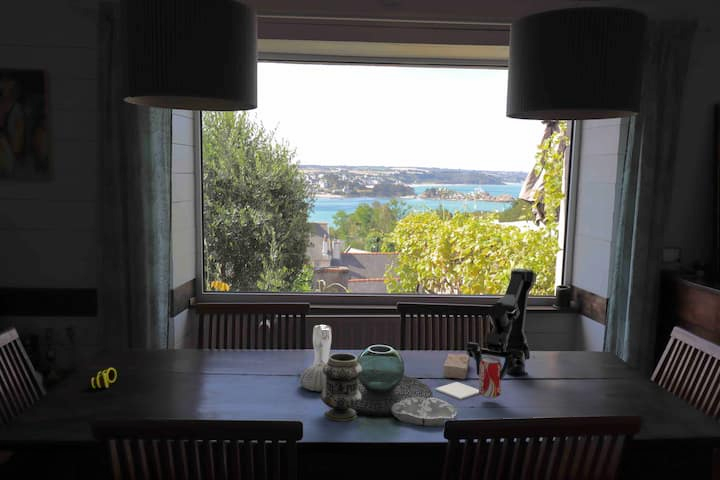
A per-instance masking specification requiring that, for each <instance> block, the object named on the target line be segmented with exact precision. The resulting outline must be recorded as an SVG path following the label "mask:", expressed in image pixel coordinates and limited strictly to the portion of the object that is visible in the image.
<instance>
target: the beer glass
mask: <svg viewBox="0 0 720 480" xmlns="http://www.w3.org/2000/svg"><path fill="white" fill-rule="evenodd" d="M312 331H313V332H312V345H313V350H314V351H313V352H314V362H313V364H317V363H318V364H325V363H327V362H328V359H329V356H330V351H331V345H332V327H331V326H329V325H327V324H326V325H325V324H319V325H314V327H313V330H312Z"/></svg>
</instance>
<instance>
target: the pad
mask: <svg viewBox="0 0 720 480" xmlns="http://www.w3.org/2000/svg"><path fill="white" fill-rule="evenodd" d="M434 390H435V391H437V392H440V393H442V394H445V395H446V396H447V395H448V396H450V397H452V398H455V399H458V400H460V401H461V400H464V399H467V398H470V397H472V396H476V395H479V394H480V393H479V388H475V387H472V386H469V385H468V384H465V383H464V384H463V383H461V382H458V381H456V382H455V381H454V382H451V383H449V384H444V385H442V386H437V387H436V388H435V389H434Z"/></svg>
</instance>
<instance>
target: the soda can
mask: <svg viewBox="0 0 720 480" xmlns="http://www.w3.org/2000/svg"><path fill="white" fill-rule="evenodd" d="M502 368H503V366H502V363H501V359H500V358H499V357H496V356H484V357H482V361H481V363H480V368H479V375H478V390H479V394H480V396H482V397H483V398H486V399H496V398H498V397H499V396H501V393H502V392H501V391H502V380H500V374H501V371H502Z"/></svg>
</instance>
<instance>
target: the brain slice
mask: <svg viewBox="0 0 720 480" xmlns="http://www.w3.org/2000/svg"><path fill="white" fill-rule="evenodd" d="M391 412H392V415H393V416H394V418H396V419H398V420H399V421H401V422H403V423H404V422H405V423H409V424H413V425H417V426H418V425H419V426H425V427H426V426H427V427H436V426H437V427H442V426H443V425H444V421H445V420H452V419H454V420H456V417H457V416H458V415H457V414H458V408H457V407H455V406H453V404H450V403H449V402H447V401H445V400H443V399H440V398H436V397H427V398H425V397H423V396H412V397H406V398H403V399H401V400H399V401H397V402H395V403H393V404H392V405H391Z"/></svg>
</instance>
